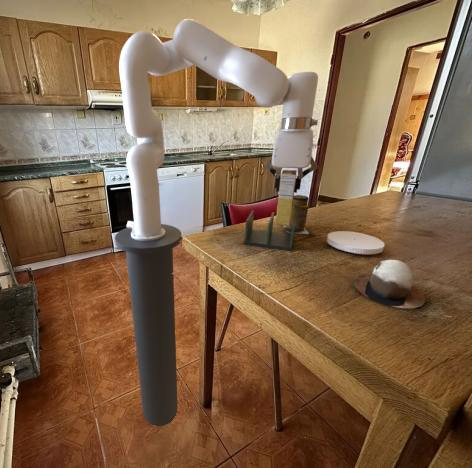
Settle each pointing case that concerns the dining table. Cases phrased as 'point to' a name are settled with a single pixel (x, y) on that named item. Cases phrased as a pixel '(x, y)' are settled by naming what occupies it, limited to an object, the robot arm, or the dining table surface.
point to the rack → (268, 235)
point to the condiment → (298, 215)
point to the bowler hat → (390, 285)
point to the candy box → (285, 197)
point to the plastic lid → (355, 242)
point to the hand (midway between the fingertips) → (286, 190)
